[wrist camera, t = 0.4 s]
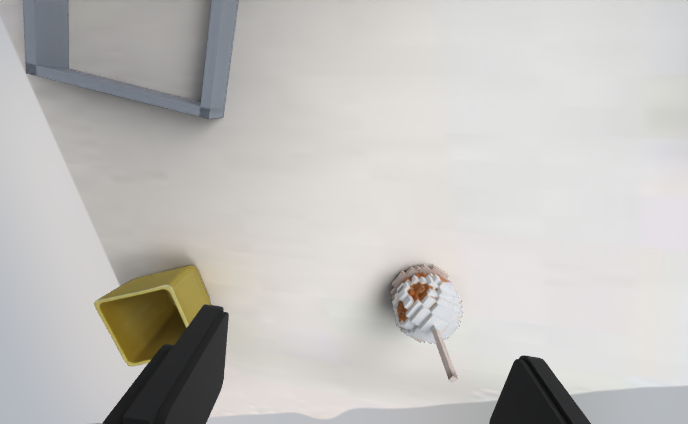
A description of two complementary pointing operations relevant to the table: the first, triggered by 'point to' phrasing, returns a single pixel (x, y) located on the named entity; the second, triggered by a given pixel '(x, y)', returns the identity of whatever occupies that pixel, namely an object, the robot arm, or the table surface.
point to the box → (53, 63)
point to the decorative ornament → (427, 308)
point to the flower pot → (152, 311)
